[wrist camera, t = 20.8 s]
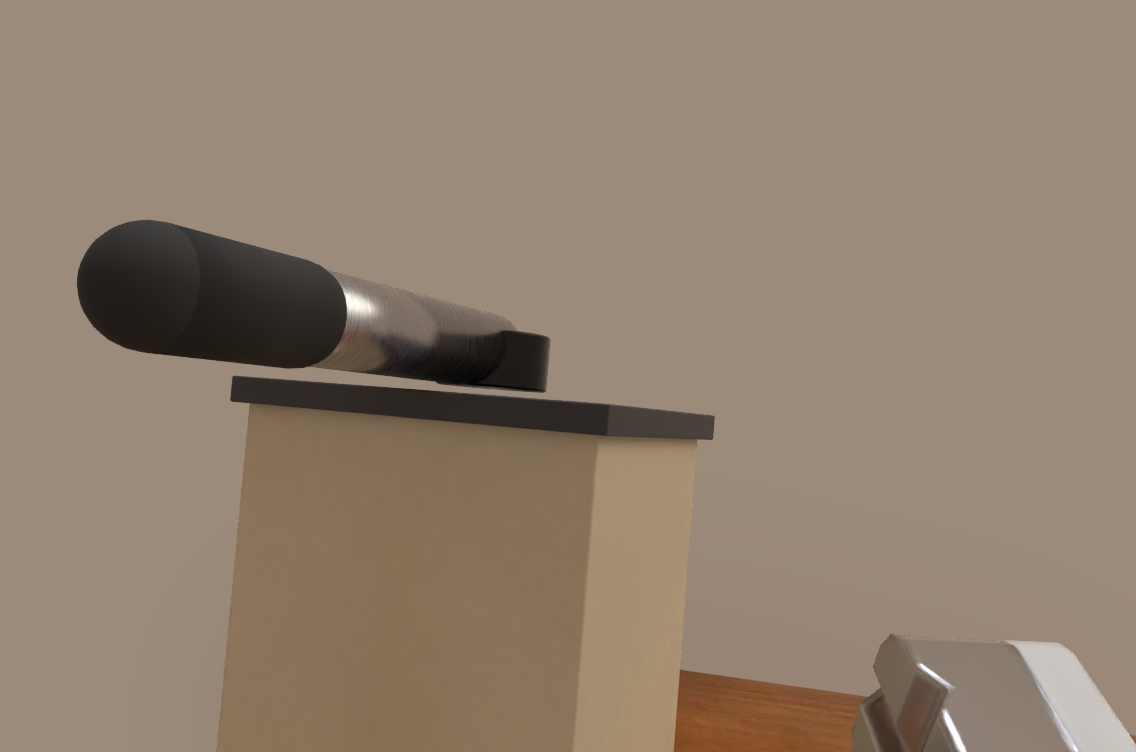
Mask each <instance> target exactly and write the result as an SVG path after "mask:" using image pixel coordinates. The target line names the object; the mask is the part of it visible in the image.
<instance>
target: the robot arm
mask: <svg viewBox="0 0 1136 752" xmlns="http://www.w3.org/2000/svg"><path fill="white" fill-rule="evenodd" d="M873 668H874V671H875V673H876V676H877V678H878V681H879V683H880V686H881V688H880V689H878V690H877V691H876V692H874V693H873V694H872V695H870V696H869V697H868V698H866V699H865V700H864V701H862V702H861V703H860V705H859V709H858V712H857V715H856V719H855V722H854V726H853V729H852V746H851V752H1136V744H1135V743H1134V741H1133V740H1132V738H1131V737H1130V735H1129V734H1128V732H1127V731H1126V730H1125V728H1124V726H1123V725H1122V724H1121V722H1120V721H1119V720H1118V718H1117V716H1116V715H1115V713H1114V712H1113V710H1112V709H1111V708H1110V706H1109V704H1108V703H1107V702H1106V700H1105V699H1104V697H1103V696H1102V694H1101V693H1100V691H1099V690H1098V688H1097V687H1096V685H1095V684H1094V683H1093V681H1092V680H1091V678H1090V677H1089V675H1088V674H1087V672H1086V671H1085V669H1084V668H1083V666H1082V665H1081V664H1080V662H1079V661H1078V659H1077V658H1076V656H1075V655H1074V654H1073V653H1072V652H1071V651H1070V650H1068V649H1067V648H1065V647H1064V646H1062V645H1061V644H1060V643H1051V642H1031V641H1011V640H1002V641H1000V642H999V641H994V640H980V639H964V638H948V637H931V636H915V635H898V634H890V636H889V637H888V638H887V639H886V640H885V641H884V642H883V643H882V644H881V646H880V649H879V652H878V654H877V657H876V659H875V662H874V665H873Z"/></svg>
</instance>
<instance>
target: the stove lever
mask: <svg viewBox="0 0 1136 752" xmlns="http://www.w3.org/2000/svg"><path fill="white" fill-rule="evenodd" d="M77 288H78V296H79V300H80V304H81V307H82V309H83V311H84V313H85V315H86V316H87V318H88V319H89V321H90V322H91V324H92V325H93V327H95V328H96V329H97V330H98V331H99V332H100V333H101V334H102V335H104V336H105V337H106V338H107V339H108V340H111V341H112V342H114V343H116V344H118V345H120V346H122V347H124V348H127V349H131V350H136V351H139V352H145V353H153V354H162V355H171V356H181V357H189V358H199V359H207V360H217V361H226V362H234V363H243V364H252V365H262V366H270V367H279V368H304V367H316V368H324V369H333V370H342V371H350V372H358V373H367V374H376V375H384V376H393V377H401V378H410V379H418V380H427V381H436V382H437V383H438V384H444V385H453V386H463V387H473V388H485V389H497V390H509V391H523V392H541V393H543V392H546V387H547V375H548V363H549V351H550V338H549V337H547V336H543V335H539V334H533V333H526V332H520V331H518V330H517V328H516V327H515V326H514V325H513V324H512V323H511V322H510V321H509V320H507V319H506V318H504V317H502V316H500V315H498V314H494V313H490V312H486V311H482V310H478V309H475V308H470V307H467V306H463V305H459V304H456V303H452V302H448V301H444V300H440V299H437V298H433V297H429V296H425V295H421V294H417V293H414V292H410V291H406V290H402V289H398V288H395V287H391V286H387V285H383V284H379V283H376V282H372V281H368V280H364V279H360V278H357V277H353V276H349V275H345V274H341V273H337V272H333V271H330V270H326V269H324V268H323V267H322V266H320V265H318V264H315V263H313V262H311V261H308V260H305V259H301V258H297V257H294V256H290V255H286V254H282V253H279V252H275V251H271V250H267V249H263V248H260V247H256V246H252V245H249V244H245V243H241V242H237V241H234V240H230V239H227V238H223V237H219V236H215V235H212V234H208V233H204V232H200V231H197V230H193V229H189V228H186V227H182V226H178V225H174V224H171V223H167V222H160V221H153V220H141V221H140V220H139V221H132V222H127V223H124V224H121V225H118V226H116V227H114V228H112V229H110V230H108V231H107V232H105V233H104V234H103V235H101V236H100V237H99V238H97V239H96V240H95V241H94V242H93V243H92V245H91V246H90V247H89V249H88V250H87V252H86V253H85V255H84V257H83V259H82V261H81V264H80V267H79V270H78V276H77Z"/></svg>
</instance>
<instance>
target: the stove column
mask: <svg viewBox="0 0 1136 752" xmlns="http://www.w3.org/2000/svg"><path fill="white" fill-rule="evenodd" d="M230 400H231V401H232V402H244V403H250V406H249V417H248V427H247V438H246V449H245V460H244V469H243V480H242V490H241V501H240V512H239V522H238V532H237V543H236V553H235V564H234V574H233V585H232V595H231V605H230V606H231V607H230V616H229V627H228V638H227V647H226V658H225V668H224V679H223V690H222V700H221V711H220V721H219V732H218V742H217V752H673V751H674V738H675V724H676V711H677V698H678V685H679V672H680V659H681V645H682V633H683V620H684V607H685V593H686V580H687V567H688V554H689V541H690V527H691V514H692V501H693V488H694V475H695V462H696V449H697V439H706V440H707V439H708V440H712V439H713V431H714V419H715V418H714V416H711V415H702V414H693V413H684V412H675V411H666V410H657V409H647V408H639V407H630V406H621V405H611V404H601V403H587V402H574V401H561V400H560V401H559V400H547V399H534V398H521V397H507V396H495V395H481V394H468V393H455V392H441V391H428V390H415V389H402V388H389V387H375V386H362V385H350V384H336V383H323V382H309V381H296V380H284V379H270V378H257V377H256V378H255V377H244V376H233V378H232V388H231V398H230Z"/></svg>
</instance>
